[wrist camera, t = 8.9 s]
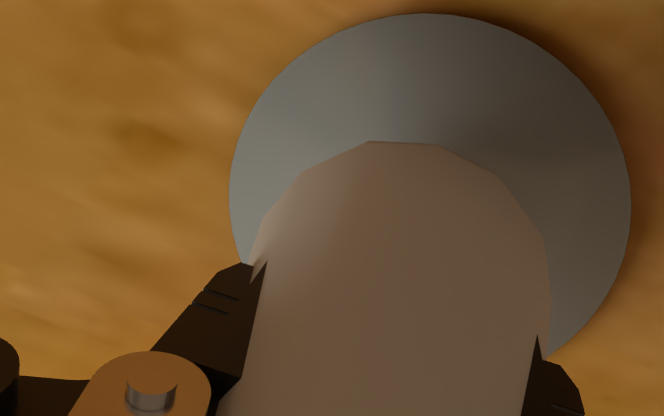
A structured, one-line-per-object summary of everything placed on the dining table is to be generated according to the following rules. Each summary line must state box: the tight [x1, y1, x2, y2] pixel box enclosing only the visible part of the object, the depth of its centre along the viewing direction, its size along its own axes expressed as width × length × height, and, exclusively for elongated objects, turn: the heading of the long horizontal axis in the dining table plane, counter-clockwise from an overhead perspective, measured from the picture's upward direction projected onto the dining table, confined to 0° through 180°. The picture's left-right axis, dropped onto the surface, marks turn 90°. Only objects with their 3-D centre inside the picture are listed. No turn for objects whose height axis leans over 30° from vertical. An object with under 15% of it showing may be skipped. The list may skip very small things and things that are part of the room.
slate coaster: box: [229, 13, 632, 357], centre depth 16 cm, size 10×10×1 cm
